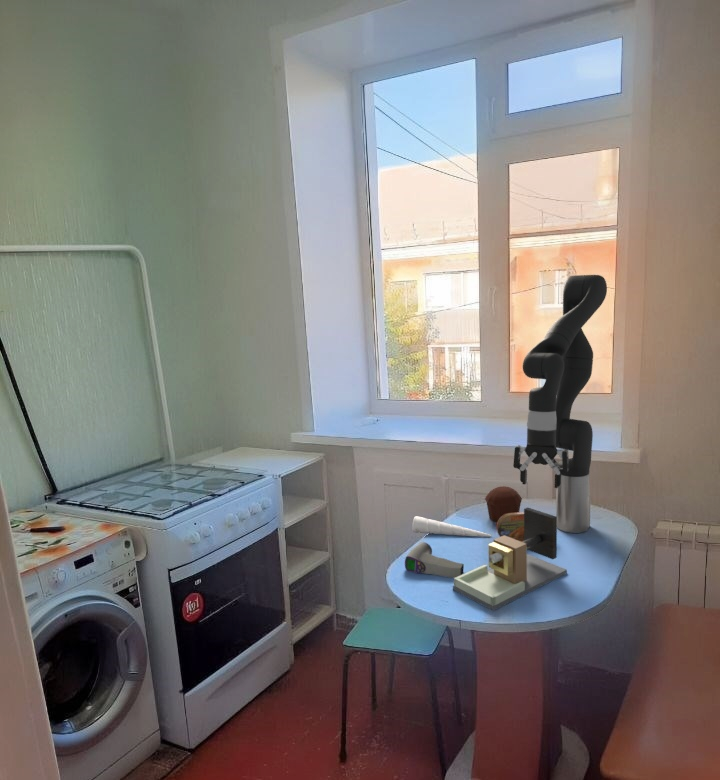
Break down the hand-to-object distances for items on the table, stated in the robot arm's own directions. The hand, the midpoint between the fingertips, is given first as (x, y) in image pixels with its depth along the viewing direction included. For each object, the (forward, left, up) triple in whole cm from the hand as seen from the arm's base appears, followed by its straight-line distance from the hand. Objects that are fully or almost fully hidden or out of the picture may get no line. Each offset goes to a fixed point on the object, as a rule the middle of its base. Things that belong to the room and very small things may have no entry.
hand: (540, 485), depth 163 cm
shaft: (+17, +6, -15) cm, 23 cm away
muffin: (-11, -22, -19) cm, 32 cm away
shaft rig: (+20, +6, -19) cm, 28 cm away
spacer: (+23, +6, -15) cm, 28 cm away
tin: (-2, -8, -19) cm, 21 cm away
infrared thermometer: (+27, -12, -20) cm, 36 cm away
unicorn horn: (+10, -26, -19) cm, 34 cm away
